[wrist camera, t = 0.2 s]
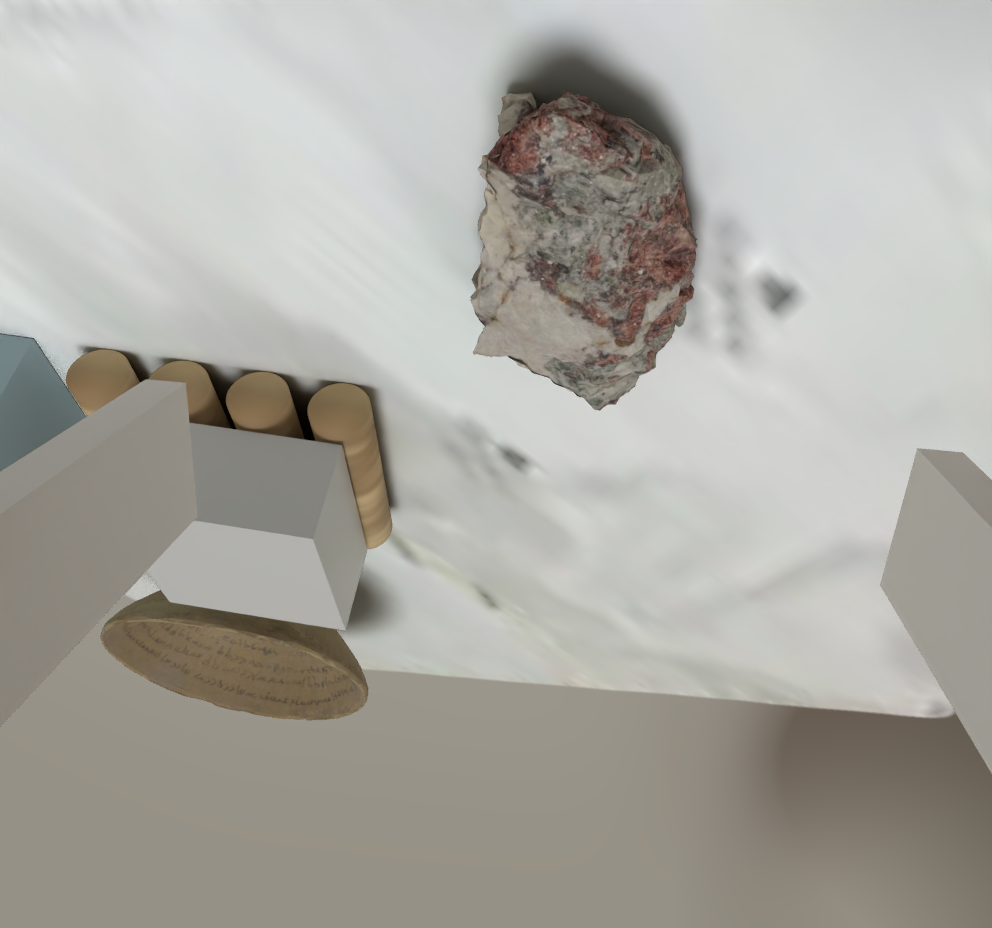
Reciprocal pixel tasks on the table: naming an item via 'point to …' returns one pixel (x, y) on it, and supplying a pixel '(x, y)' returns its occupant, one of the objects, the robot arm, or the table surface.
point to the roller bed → (260, 418)
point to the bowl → (238, 659)
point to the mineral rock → (581, 246)
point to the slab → (267, 530)
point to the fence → (30, 400)
